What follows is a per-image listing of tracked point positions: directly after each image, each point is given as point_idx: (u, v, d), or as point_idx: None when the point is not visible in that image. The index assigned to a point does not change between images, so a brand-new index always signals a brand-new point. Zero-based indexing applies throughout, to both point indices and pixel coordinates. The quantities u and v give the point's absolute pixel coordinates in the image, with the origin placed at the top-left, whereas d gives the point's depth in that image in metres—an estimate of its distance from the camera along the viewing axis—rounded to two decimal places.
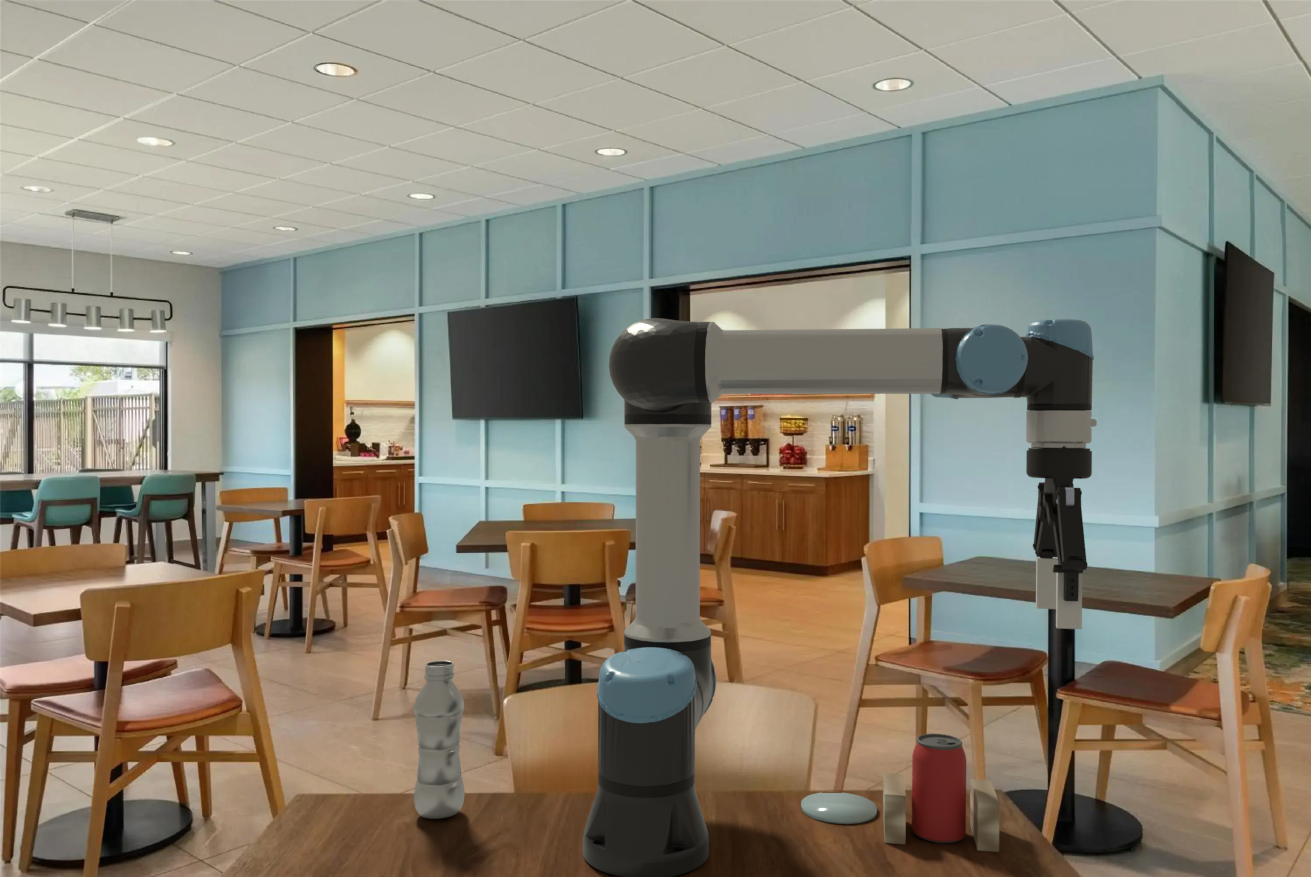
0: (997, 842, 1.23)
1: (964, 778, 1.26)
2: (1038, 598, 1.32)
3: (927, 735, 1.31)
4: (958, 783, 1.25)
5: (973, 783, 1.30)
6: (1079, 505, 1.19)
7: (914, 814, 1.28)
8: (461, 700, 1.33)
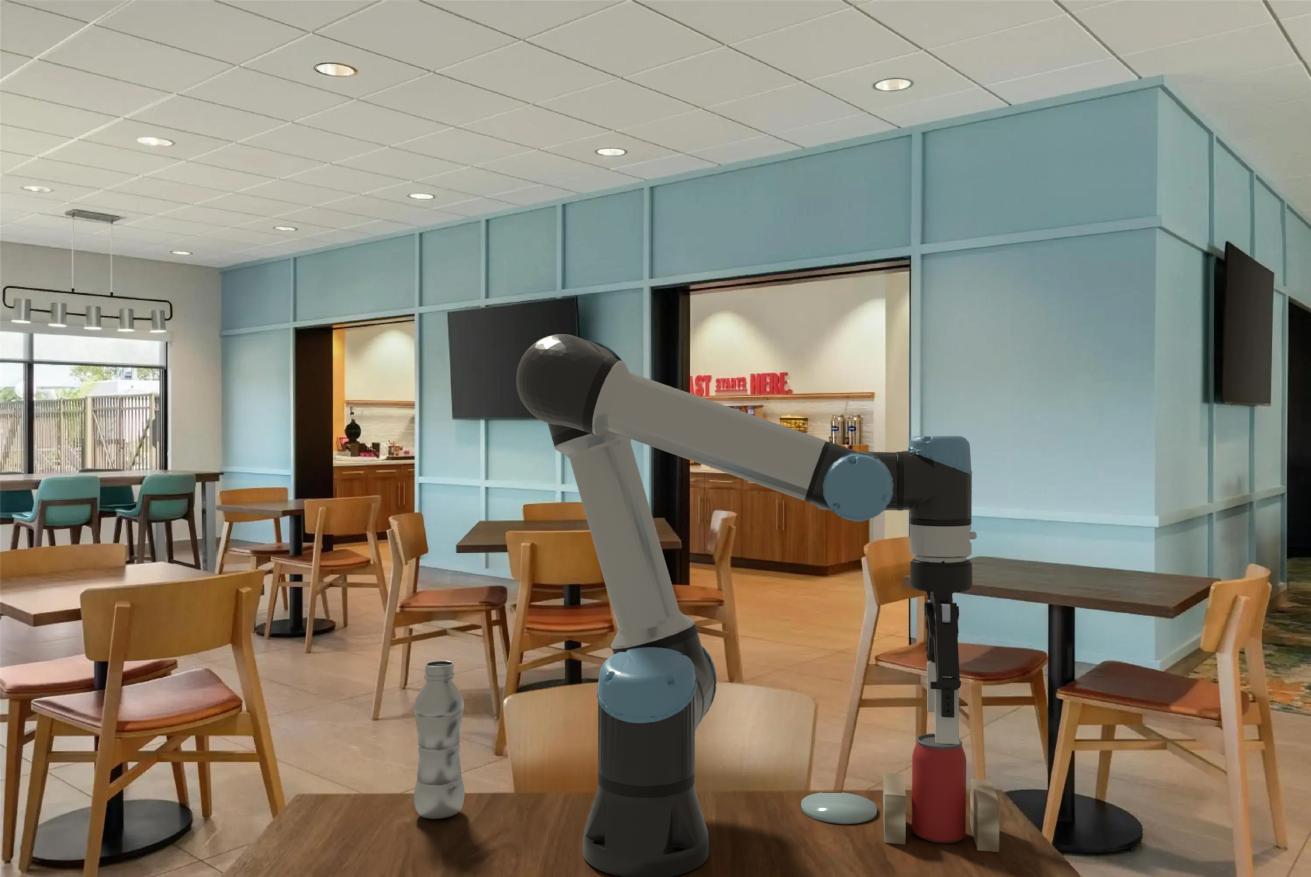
0: (997, 842, 1.23)
1: (964, 778, 1.26)
2: (929, 702, 1.35)
3: (927, 735, 1.31)
4: (957, 783, 1.25)
5: (973, 783, 1.30)
6: (955, 622, 1.21)
7: (914, 814, 1.28)
8: (461, 700, 1.33)
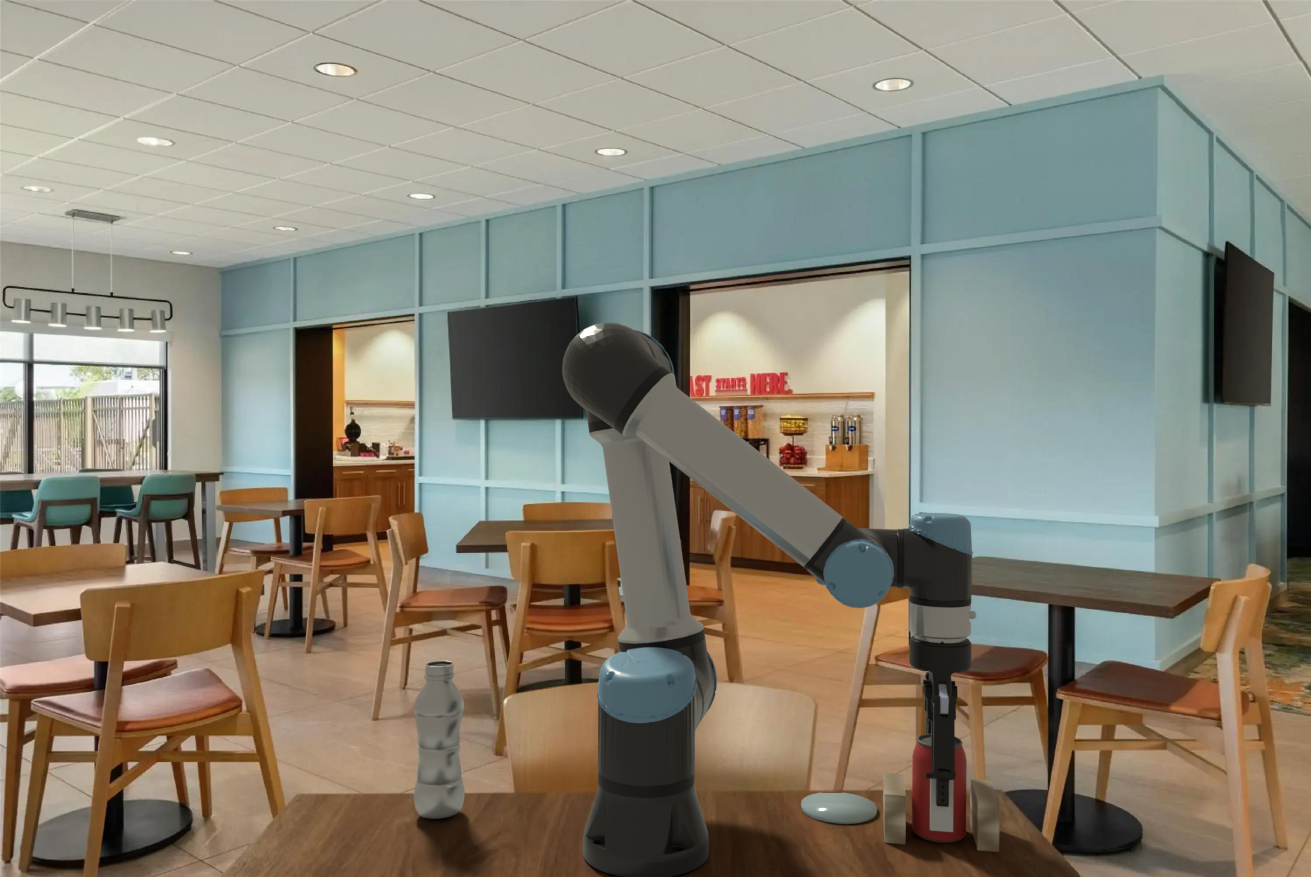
0: (997, 842, 1.23)
1: (964, 778, 1.26)
2: None
3: (927, 735, 1.31)
4: (958, 783, 1.25)
5: (973, 783, 1.30)
6: (952, 715, 1.22)
7: (914, 814, 1.28)
8: (461, 700, 1.33)
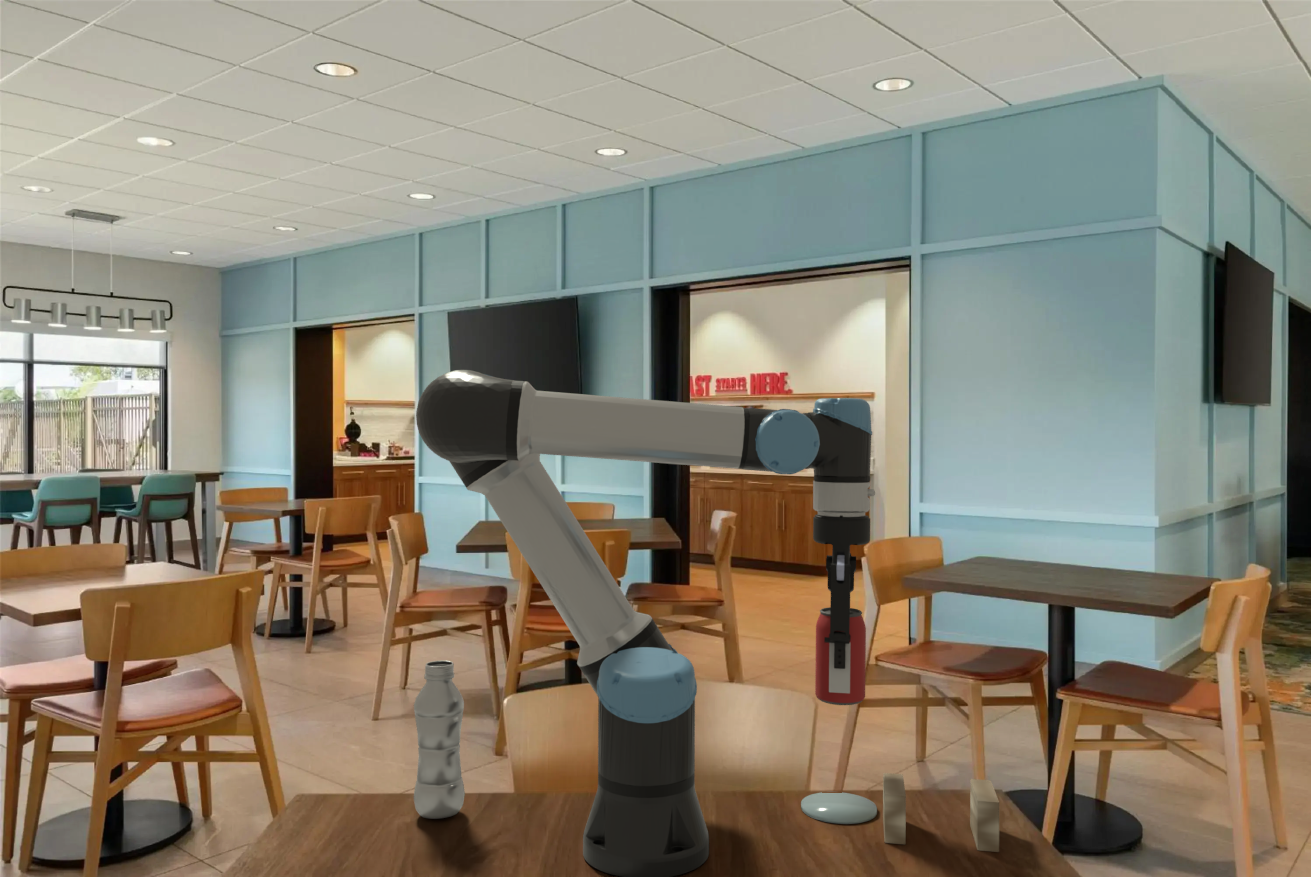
0: (997, 842, 1.23)
1: (863, 645, 1.34)
2: None
3: None
4: (856, 648, 1.33)
5: (973, 783, 1.30)
6: (848, 581, 1.30)
7: (816, 680, 1.36)
8: (461, 700, 1.33)
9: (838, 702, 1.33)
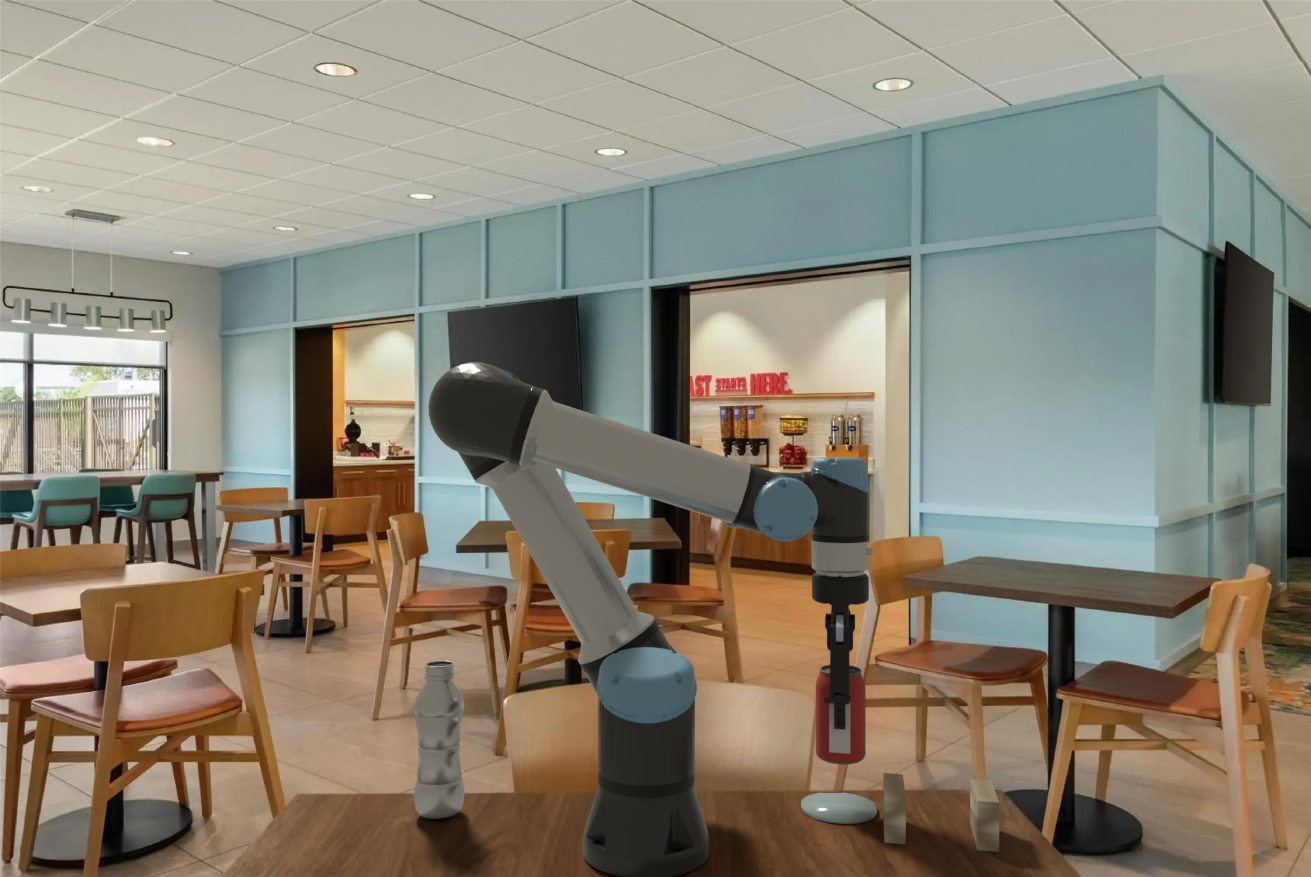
0: (997, 842, 1.23)
1: (862, 704, 1.35)
2: None
3: None
4: (856, 708, 1.34)
5: (973, 783, 1.30)
6: (847, 642, 1.30)
7: (817, 738, 1.36)
8: (461, 700, 1.33)
9: (839, 762, 1.34)
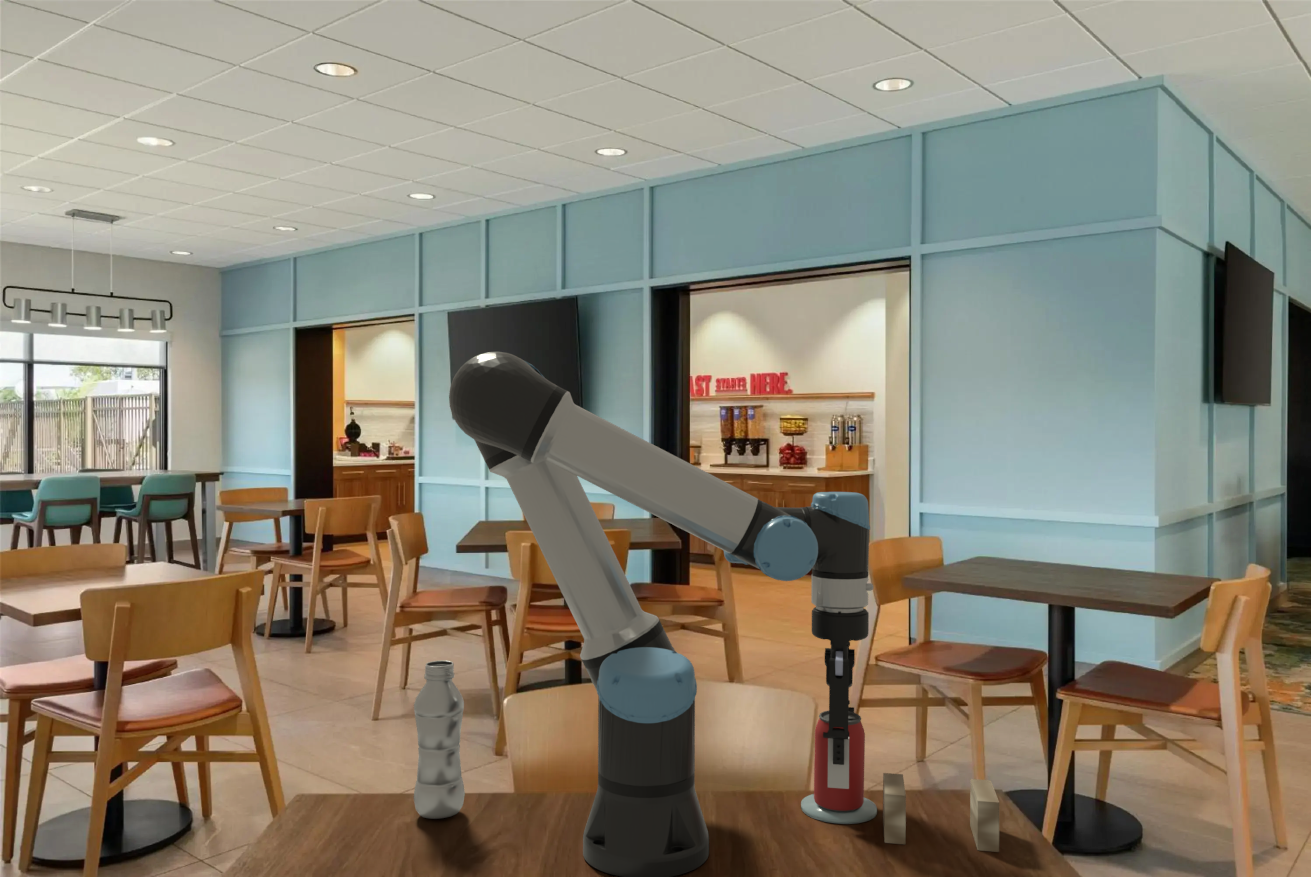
0: (997, 842, 1.23)
1: (861, 752, 1.34)
2: None
3: None
4: (855, 756, 1.34)
5: (973, 783, 1.30)
6: (847, 676, 1.30)
7: (815, 785, 1.36)
8: (461, 700, 1.33)
9: (837, 809, 1.34)
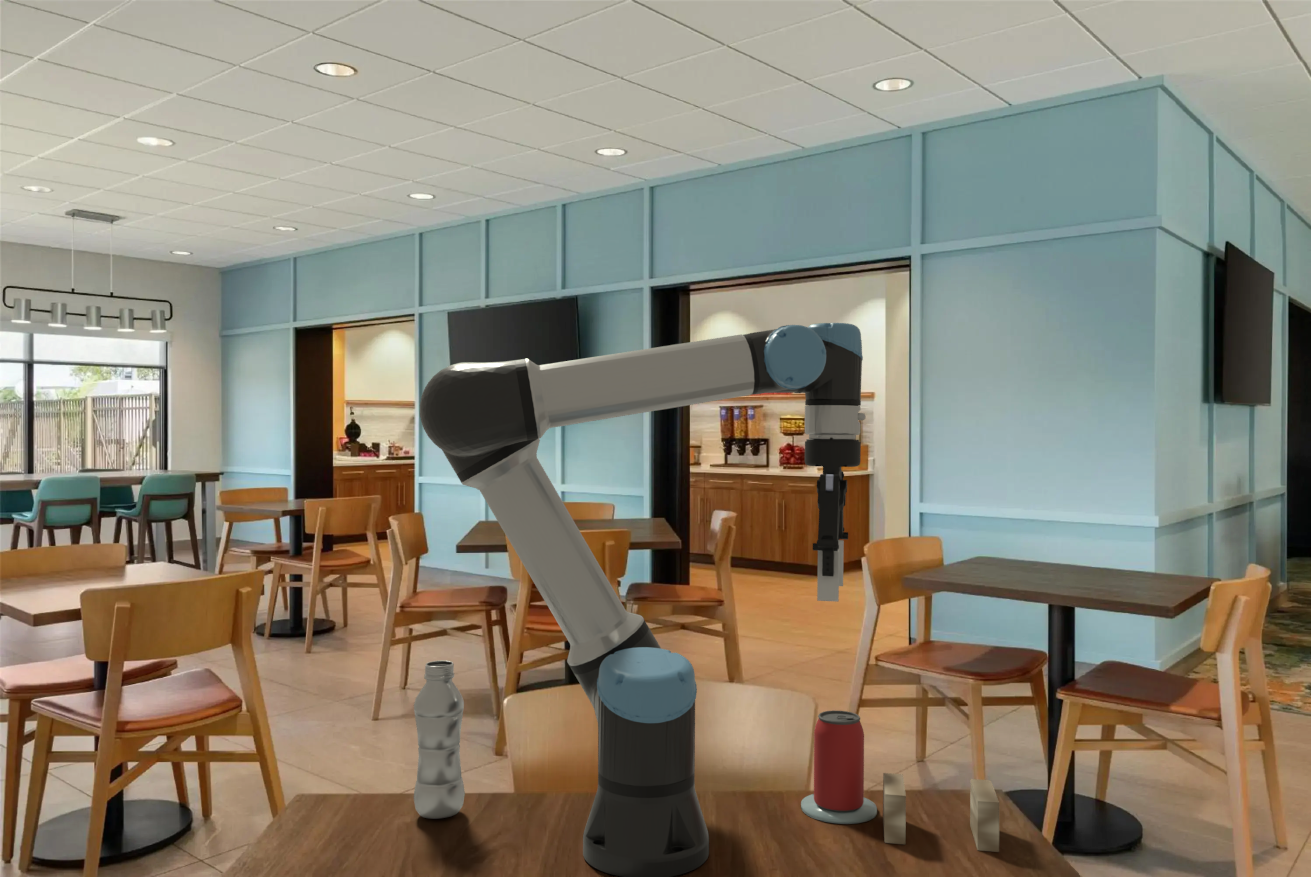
0: (997, 842, 1.23)
1: (861, 751, 1.35)
2: None
3: (829, 712, 1.39)
4: (854, 756, 1.34)
5: (973, 783, 1.30)
6: (837, 490, 1.32)
7: (815, 785, 1.36)
8: (461, 700, 1.33)
9: (837, 809, 1.34)
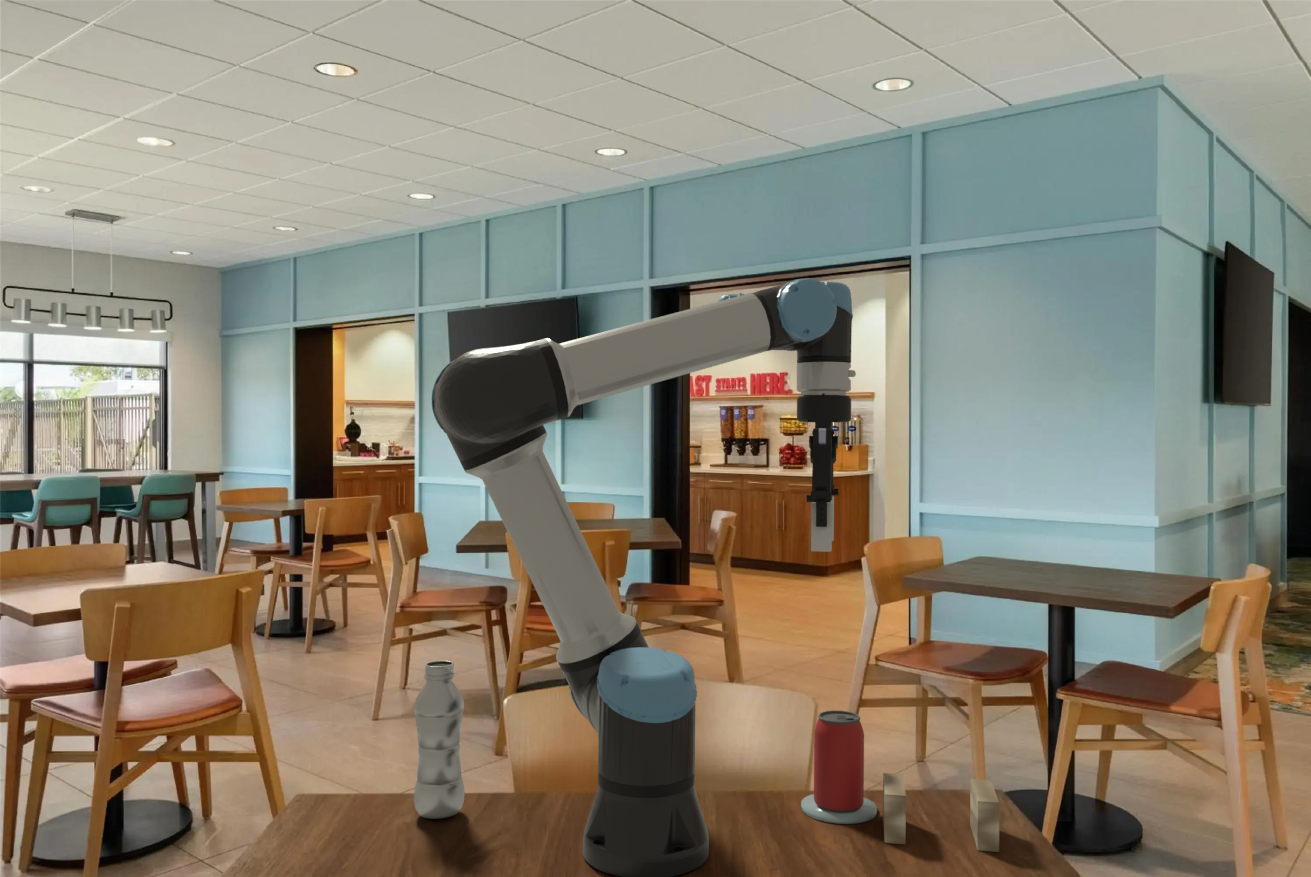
0: (997, 842, 1.23)
1: (861, 751, 1.35)
2: None
3: (829, 712, 1.39)
4: (854, 756, 1.34)
5: (973, 783, 1.30)
6: (829, 443, 1.36)
7: (815, 785, 1.36)
8: (461, 700, 1.33)
9: (837, 810, 1.34)
